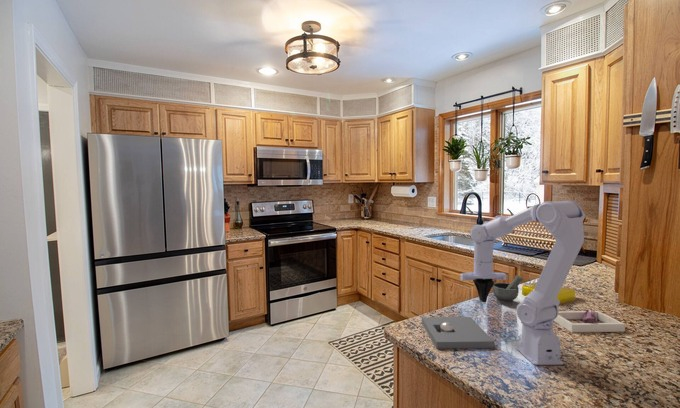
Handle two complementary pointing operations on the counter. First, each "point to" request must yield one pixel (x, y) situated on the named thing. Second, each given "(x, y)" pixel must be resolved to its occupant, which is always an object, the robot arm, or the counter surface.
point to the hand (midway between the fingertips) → (482, 301)
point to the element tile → (563, 295)
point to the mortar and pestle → (507, 291)
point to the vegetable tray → (607, 326)
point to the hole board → (457, 333)
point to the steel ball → (446, 327)
